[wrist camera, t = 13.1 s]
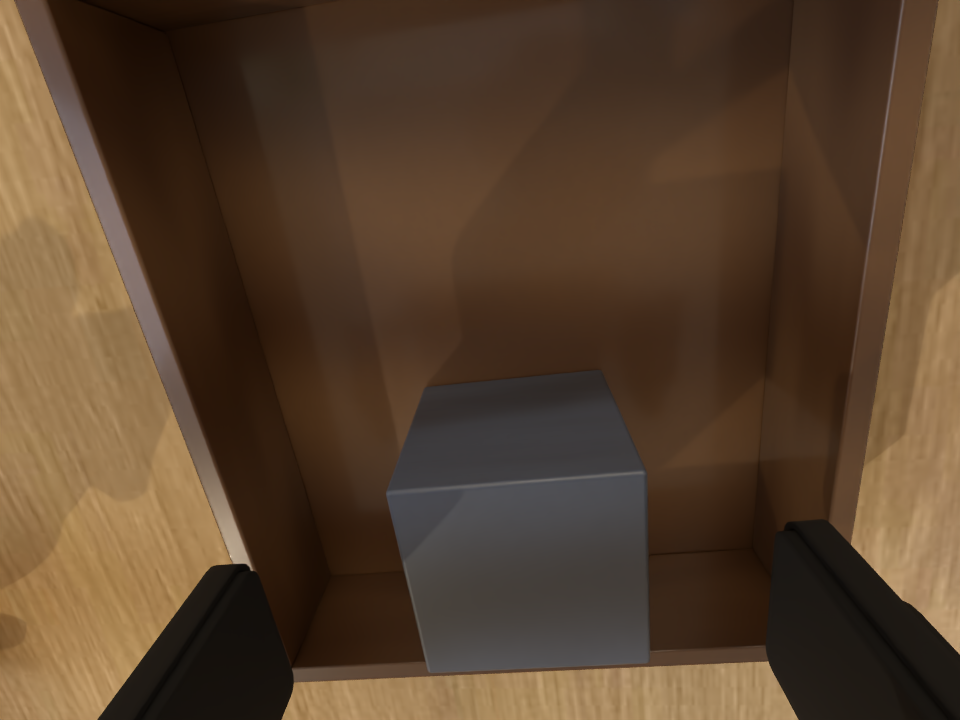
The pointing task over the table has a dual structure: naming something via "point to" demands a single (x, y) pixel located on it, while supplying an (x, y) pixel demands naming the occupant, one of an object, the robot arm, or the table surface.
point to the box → (501, 263)
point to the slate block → (524, 526)
